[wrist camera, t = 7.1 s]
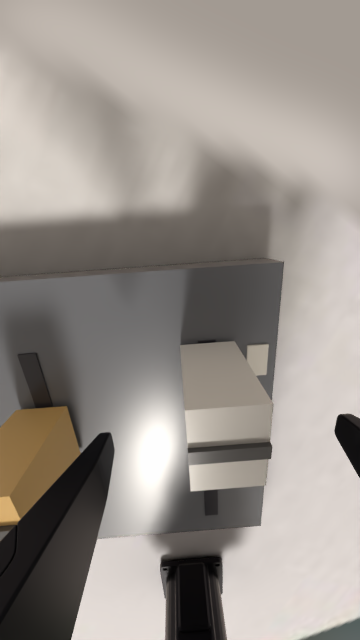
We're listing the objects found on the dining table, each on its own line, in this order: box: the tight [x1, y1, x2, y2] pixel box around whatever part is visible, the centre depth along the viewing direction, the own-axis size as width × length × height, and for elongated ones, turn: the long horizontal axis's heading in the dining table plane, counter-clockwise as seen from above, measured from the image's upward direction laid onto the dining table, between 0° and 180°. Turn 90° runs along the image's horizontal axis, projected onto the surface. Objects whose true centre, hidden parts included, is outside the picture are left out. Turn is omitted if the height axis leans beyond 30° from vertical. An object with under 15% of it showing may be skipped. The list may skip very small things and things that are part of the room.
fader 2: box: [180, 341, 273, 491], centre depth 10 cm, size 4×3×5 cm
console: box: [0, 258, 284, 539], centre depth 16 cm, size 21×18×3 cm
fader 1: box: [0, 406, 81, 541], centre depth 12 cm, size 4×3×5 cm
